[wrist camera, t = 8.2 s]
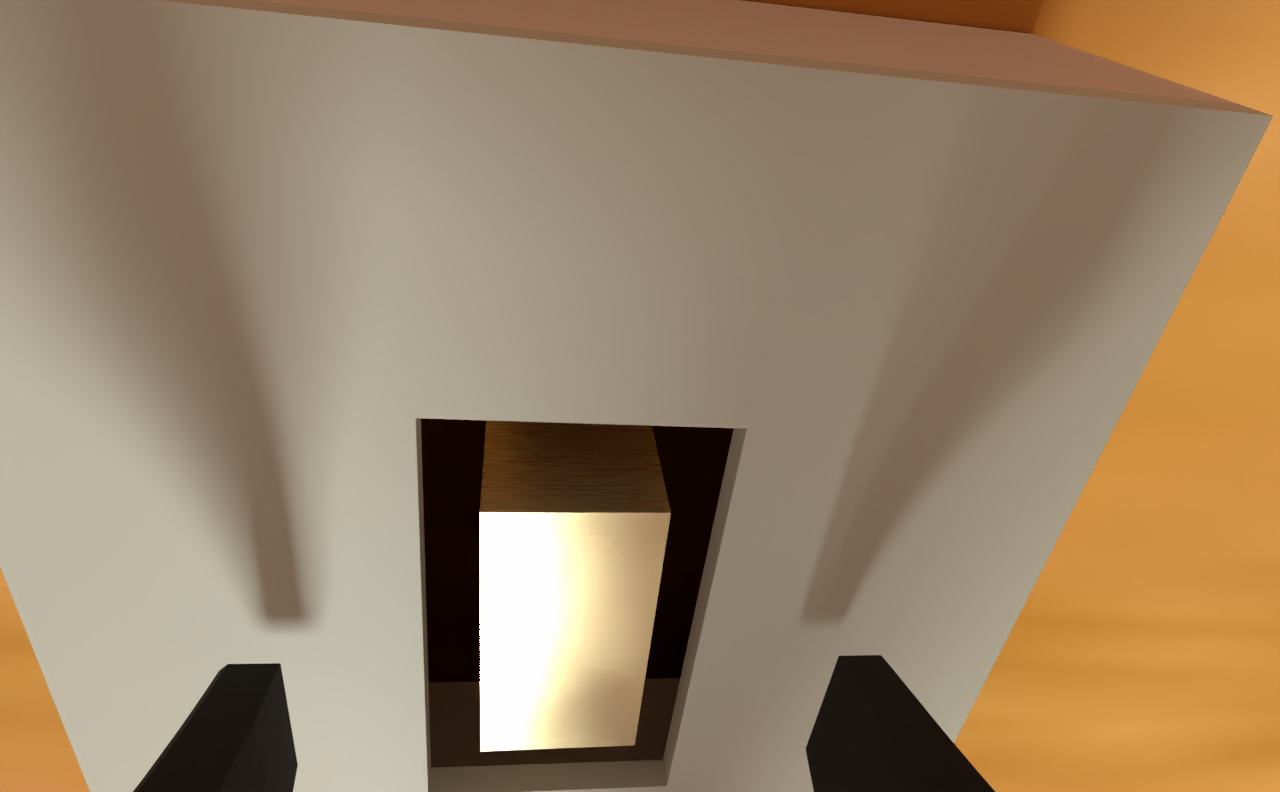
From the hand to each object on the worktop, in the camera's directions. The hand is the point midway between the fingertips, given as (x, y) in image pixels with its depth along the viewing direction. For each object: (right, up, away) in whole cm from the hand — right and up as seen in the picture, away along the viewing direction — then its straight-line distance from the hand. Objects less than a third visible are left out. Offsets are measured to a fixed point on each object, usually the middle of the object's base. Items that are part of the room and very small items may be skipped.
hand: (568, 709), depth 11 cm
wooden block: (-1, +3, +5) cm, 6 cm away
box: (-1, +3, +5) cm, 6 cm away
